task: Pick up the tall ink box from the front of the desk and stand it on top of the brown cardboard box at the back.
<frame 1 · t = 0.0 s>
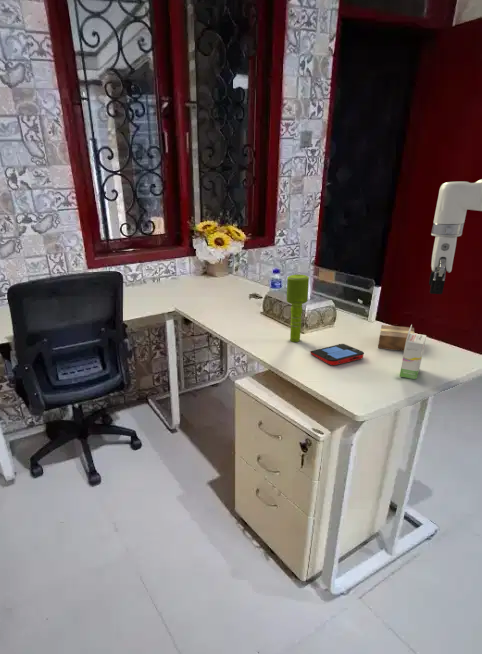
hand: (435, 289, 124), 25 cm above the table, tool pointing down, fingers open, 9 cm apart
cardboard box: (395, 344, 151), on the table
ink box: (409, 373, 131), on the table
game console: (337, 356, 145), on the table
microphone: (295, 341, 159), on the table
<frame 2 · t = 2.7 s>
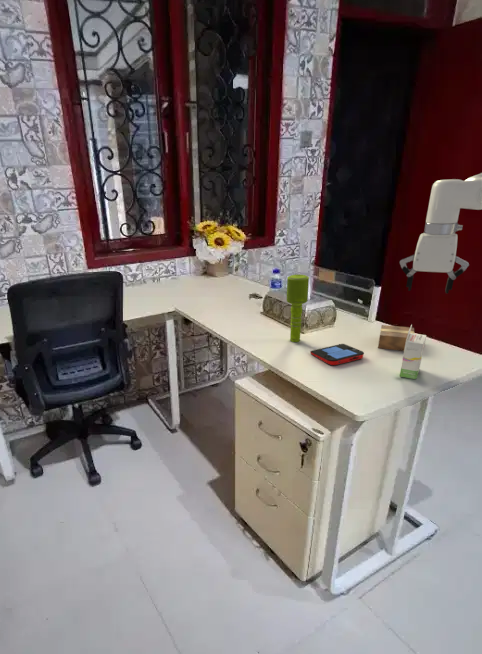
hand: (427, 290, 120), 26 cm above the table, tool pointing down, fingers open, 9 cm apart
nothing on the table moved.
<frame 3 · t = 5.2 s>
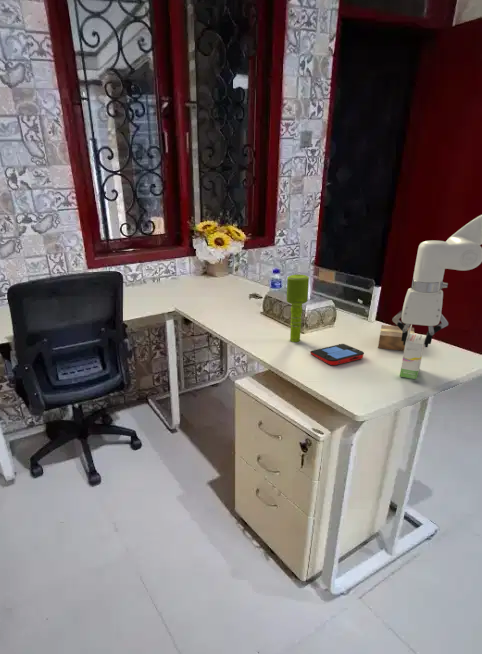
hand: (415, 344, 126), 10 cm above the table, tool pointing down, fingers closed on ink box, 5 cm apart
ink box: (409, 373, 131), on the table, touching gripper
everything else where it was.
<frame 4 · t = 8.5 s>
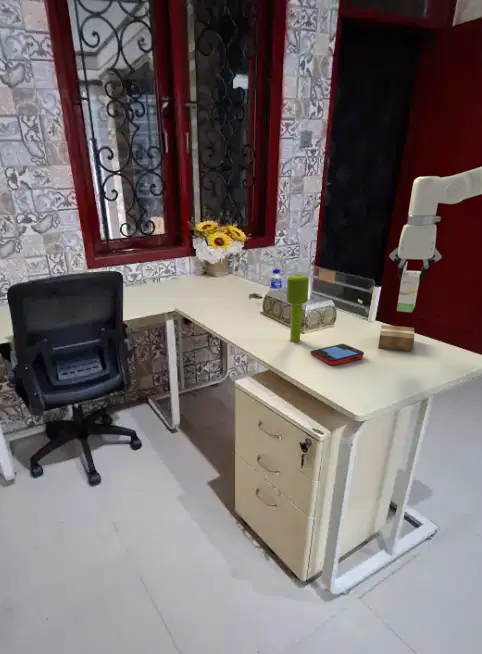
hand: (410, 279, 135), 25 cm above the table, tool pointing down, fingers closed on ink box, 5 cm apart
ink box: (405, 308, 139), point 15 cm above the table, touching gripper
everything else where it was.
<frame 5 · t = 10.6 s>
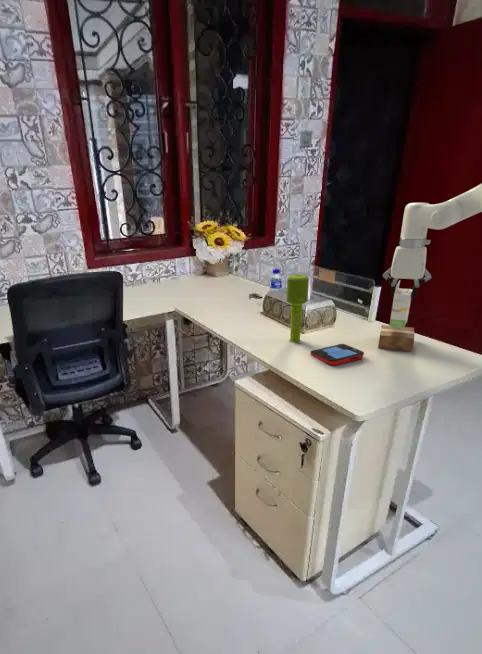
hand: (403, 296, 143), 18 cm above the table, tool pointing down, fingers closed on ink box, 5 cm apart
ink box: (398, 324, 148), point 8 cm above the table, touching gripper
everything else where it was.
when the fingers open (15 cm above the table, at t = 11.9 s): ink box stays where it is, resting on cardboard box.
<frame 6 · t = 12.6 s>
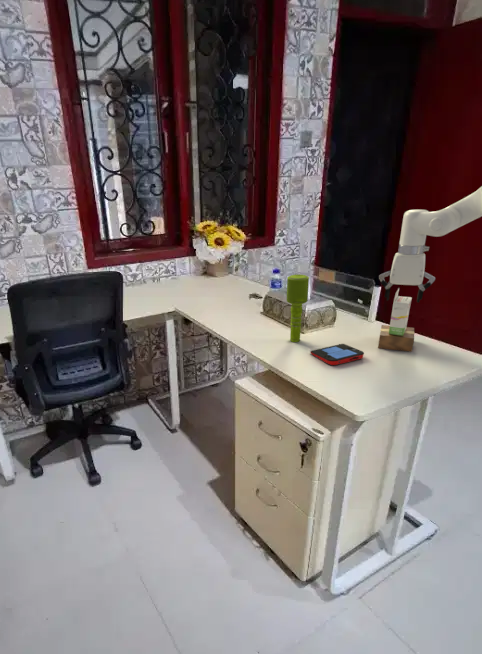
hand: (402, 300, 144), 16 cm above the table, tool pointing down, fingers open, 9 cm apart
ink box: (397, 331, 149), point 5 cm above the table, touching cardboard box
everything else where it was.
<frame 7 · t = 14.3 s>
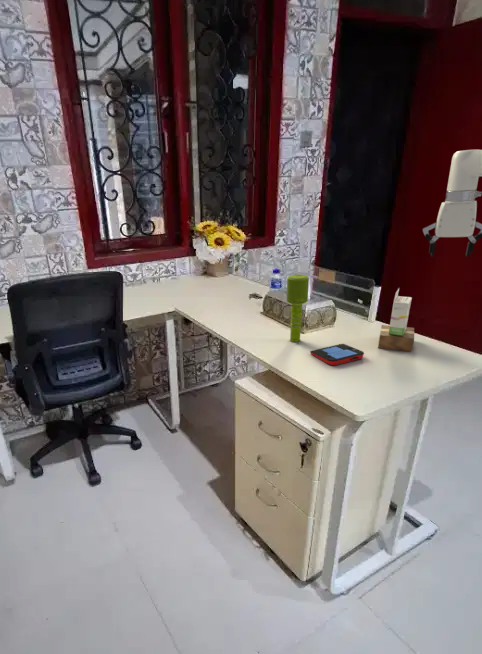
hand: (449, 255, 130), 33 cm above the table, tool pointing down, fingers open, 9 cm apart
nothing on the table moved.
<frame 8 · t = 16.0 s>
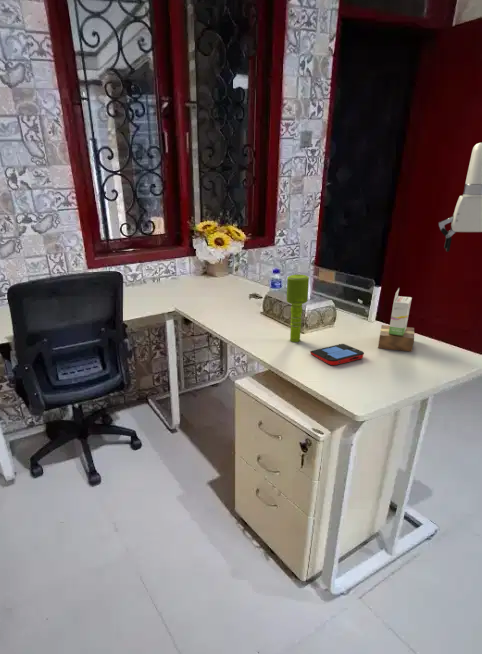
hand: (465, 251, 127), 34 cm above the table, tool pointing down, fingers open, 9 cm apart
nothing on the table moved.
at the end: ink box inside the target area on the cardboard box (0.1 cm from its centre), point 4.9 cm above the cardboard box's base; ink box tilted 0°; the gripper is holding nothing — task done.
